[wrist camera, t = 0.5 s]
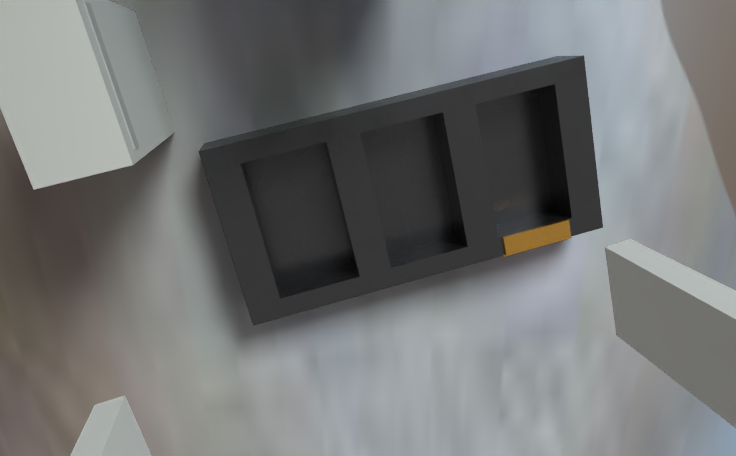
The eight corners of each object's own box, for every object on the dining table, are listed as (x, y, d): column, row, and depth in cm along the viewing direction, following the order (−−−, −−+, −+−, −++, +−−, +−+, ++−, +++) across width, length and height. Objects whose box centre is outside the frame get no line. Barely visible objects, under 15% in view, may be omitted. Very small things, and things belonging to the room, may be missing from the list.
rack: (204, 143, 36) (198, 152, 33) (556, 56, 38) (585, 55, 35) (255, 307, 40) (254, 331, 36) (576, 218, 42) (604, 232, 38)
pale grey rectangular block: (62, 27, 33) (-42, 9, 22) (136, 11, 34) (71, -16, 22) (106, 149, 35) (32, 190, 24) (175, 132, 36) (134, 164, 24)
